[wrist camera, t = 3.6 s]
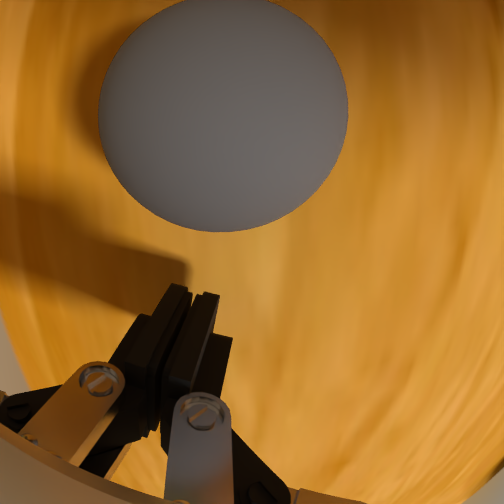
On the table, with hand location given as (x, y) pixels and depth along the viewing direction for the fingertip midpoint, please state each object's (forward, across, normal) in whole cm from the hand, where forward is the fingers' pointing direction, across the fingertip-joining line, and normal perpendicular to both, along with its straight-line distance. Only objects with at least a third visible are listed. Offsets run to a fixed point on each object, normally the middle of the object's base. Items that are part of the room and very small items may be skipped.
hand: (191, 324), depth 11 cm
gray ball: (-1, 0, -7) cm, 7 cm away
